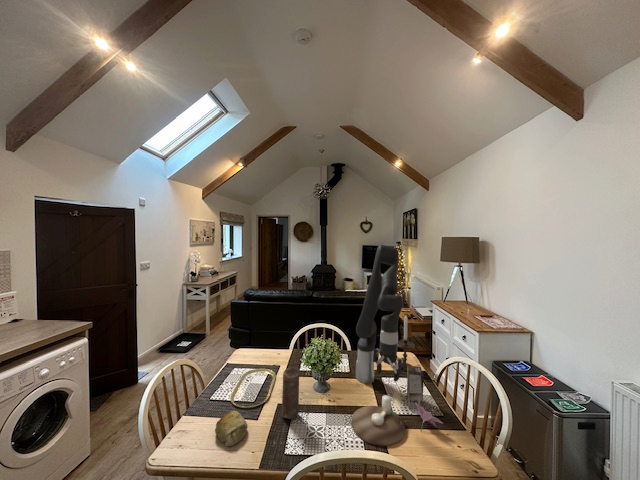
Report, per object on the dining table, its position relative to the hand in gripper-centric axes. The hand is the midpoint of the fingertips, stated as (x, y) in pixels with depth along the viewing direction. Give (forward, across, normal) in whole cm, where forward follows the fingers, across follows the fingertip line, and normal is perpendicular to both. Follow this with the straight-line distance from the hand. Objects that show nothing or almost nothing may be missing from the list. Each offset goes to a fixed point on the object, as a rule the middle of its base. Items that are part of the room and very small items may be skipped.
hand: (387, 376), depth 123 cm
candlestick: (+18, +18, -46) cm, 53 cm away
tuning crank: (+16, 0, +4) cm, 17 cm away
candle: (+19, +29, +31) cm, 46 cm away
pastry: (+20, +36, +55) cm, 68 cm away
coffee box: (+18, -3, -19) cm, 26 cm away
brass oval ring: (+20, +59, +32) cm, 70 cm away
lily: (+18, -15, -7) cm, 25 cm away
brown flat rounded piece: (+18, -1, +7) cm, 20 cm away
